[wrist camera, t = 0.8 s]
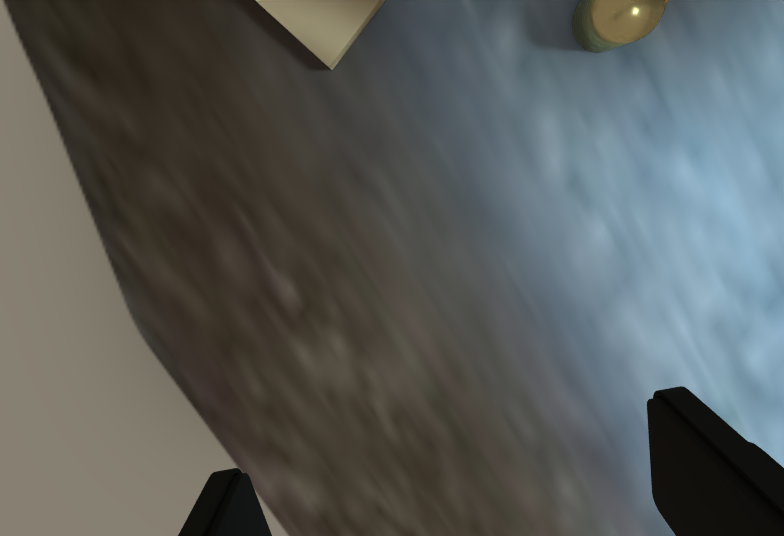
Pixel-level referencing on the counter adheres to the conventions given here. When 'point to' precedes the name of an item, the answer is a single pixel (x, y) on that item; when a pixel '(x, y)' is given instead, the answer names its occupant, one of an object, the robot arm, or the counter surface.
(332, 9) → the sprocket plate
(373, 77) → the counter surface
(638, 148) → the counter surface
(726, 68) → the counter surface
